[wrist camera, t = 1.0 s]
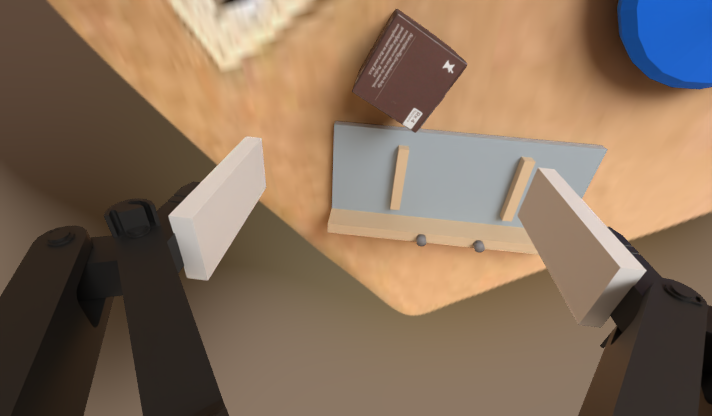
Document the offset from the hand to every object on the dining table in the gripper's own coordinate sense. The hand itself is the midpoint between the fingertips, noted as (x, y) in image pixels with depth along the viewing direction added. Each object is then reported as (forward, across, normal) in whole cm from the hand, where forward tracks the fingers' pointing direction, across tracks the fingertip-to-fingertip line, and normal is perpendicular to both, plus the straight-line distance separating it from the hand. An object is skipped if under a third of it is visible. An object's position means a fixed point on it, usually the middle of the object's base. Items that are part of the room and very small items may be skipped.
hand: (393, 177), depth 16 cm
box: (+18, +1, +2) cm, 18 cm away
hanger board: (+17, +8, -9) cm, 21 cm away
